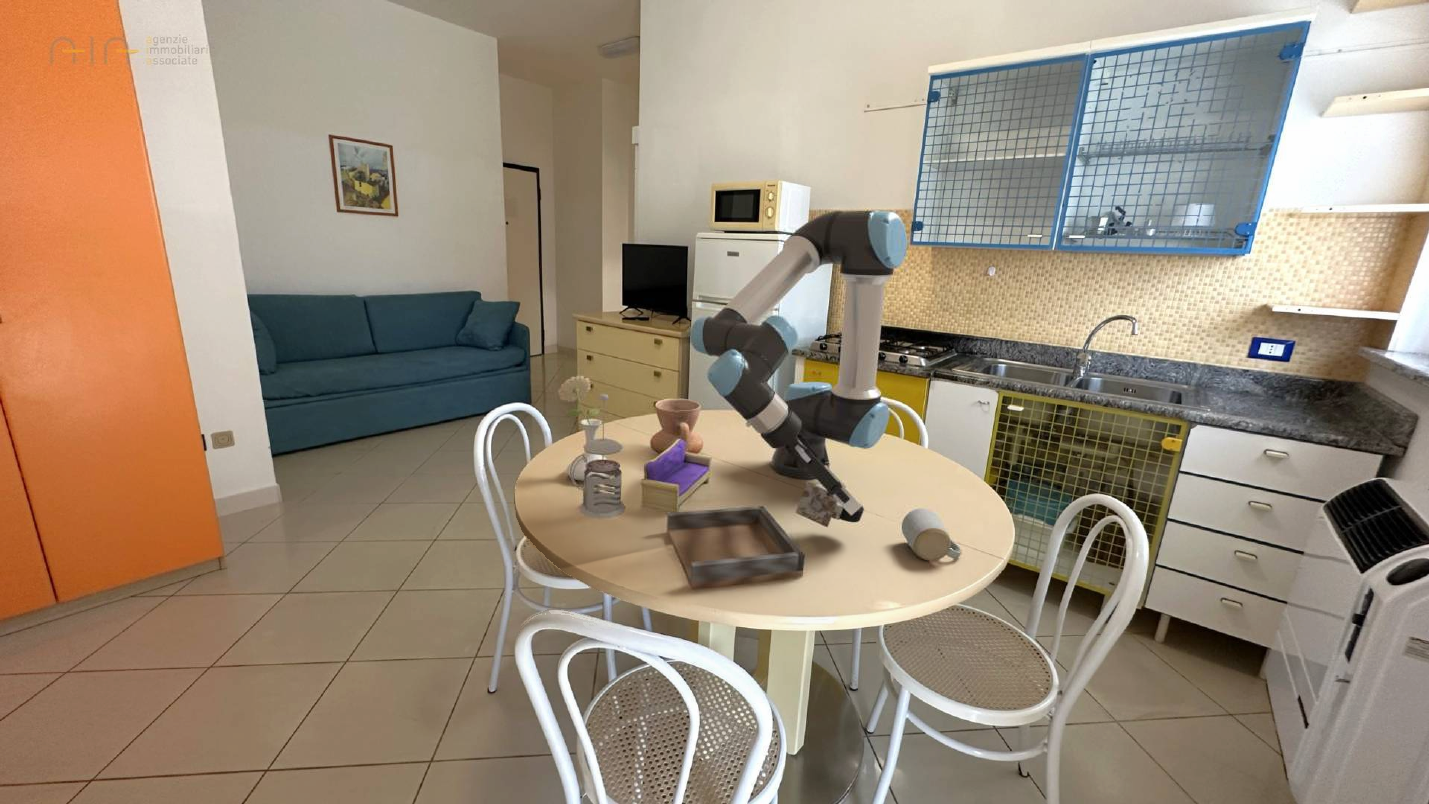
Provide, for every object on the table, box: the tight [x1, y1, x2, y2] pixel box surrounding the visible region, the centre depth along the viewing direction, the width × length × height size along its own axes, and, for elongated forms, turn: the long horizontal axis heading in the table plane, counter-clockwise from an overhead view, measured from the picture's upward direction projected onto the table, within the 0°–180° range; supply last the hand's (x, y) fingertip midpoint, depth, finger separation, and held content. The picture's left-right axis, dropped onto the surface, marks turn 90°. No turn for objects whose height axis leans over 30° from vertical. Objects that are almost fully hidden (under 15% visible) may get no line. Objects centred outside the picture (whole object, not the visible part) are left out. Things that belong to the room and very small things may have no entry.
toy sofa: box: [640, 439, 713, 514], centre depth 130 cm, size 21×9×10 cm, turn 160°
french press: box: [569, 393, 627, 519], centre depth 118 cm, size 10×12×25 cm
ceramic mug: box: [901, 507, 963, 562], centre depth 110 cm, size 11×8×8 cm
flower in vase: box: [557, 375, 611, 482], centre depth 134 cm, size 13×11×25 cm
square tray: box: [666, 505, 806, 590], centre depth 106 cm, size 20×20×4 cm
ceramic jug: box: [649, 398, 704, 456], centre depth 155 cm, size 18×14×14 cm
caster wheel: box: [795, 481, 865, 528], centre depth 113 cm, size 7×11×10 cm
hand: (847, 499), depth 112 cm, fingers closed on caster wheel, 8 cm apart
